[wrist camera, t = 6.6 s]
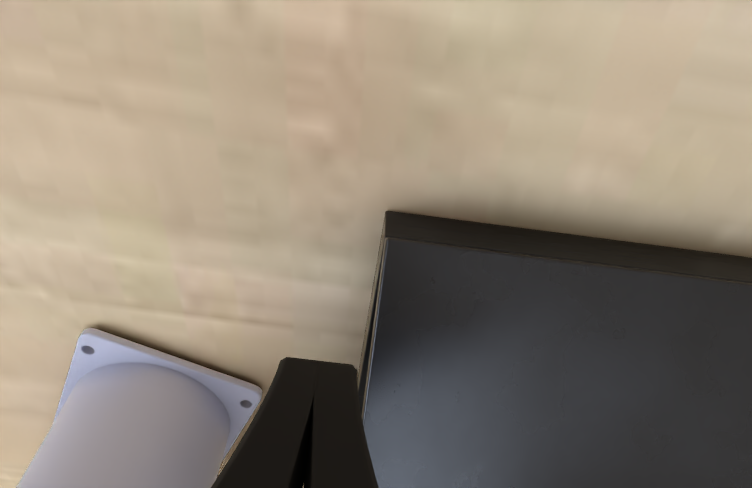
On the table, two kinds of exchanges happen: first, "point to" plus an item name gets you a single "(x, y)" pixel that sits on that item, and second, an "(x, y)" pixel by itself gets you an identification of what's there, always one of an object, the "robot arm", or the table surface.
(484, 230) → the laptop
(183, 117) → the table surface
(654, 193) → the table surface
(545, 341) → the laptop screen
